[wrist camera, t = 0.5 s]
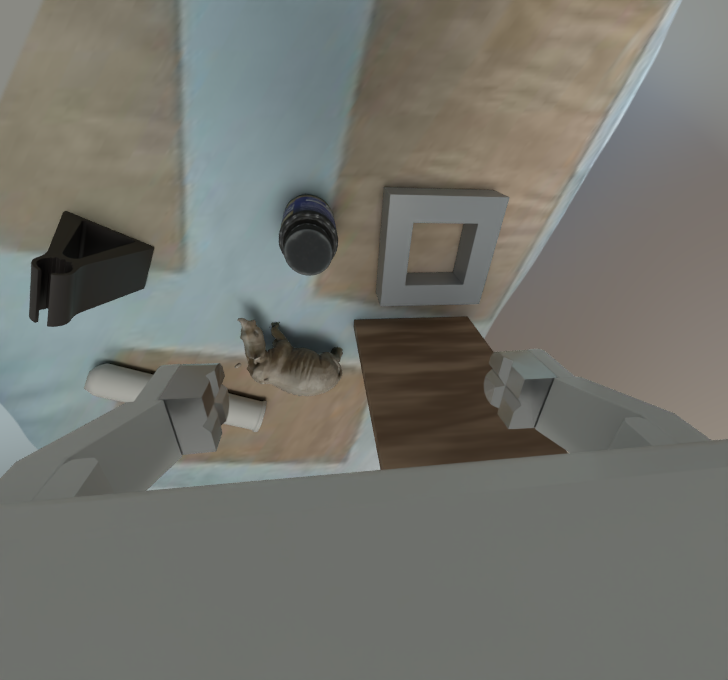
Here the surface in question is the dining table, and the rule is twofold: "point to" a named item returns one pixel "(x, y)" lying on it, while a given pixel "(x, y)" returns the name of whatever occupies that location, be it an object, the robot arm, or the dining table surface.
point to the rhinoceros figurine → (289, 363)
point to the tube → (131, 382)
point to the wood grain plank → (435, 395)
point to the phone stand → (85, 269)
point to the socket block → (474, 251)
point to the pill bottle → (308, 235)
